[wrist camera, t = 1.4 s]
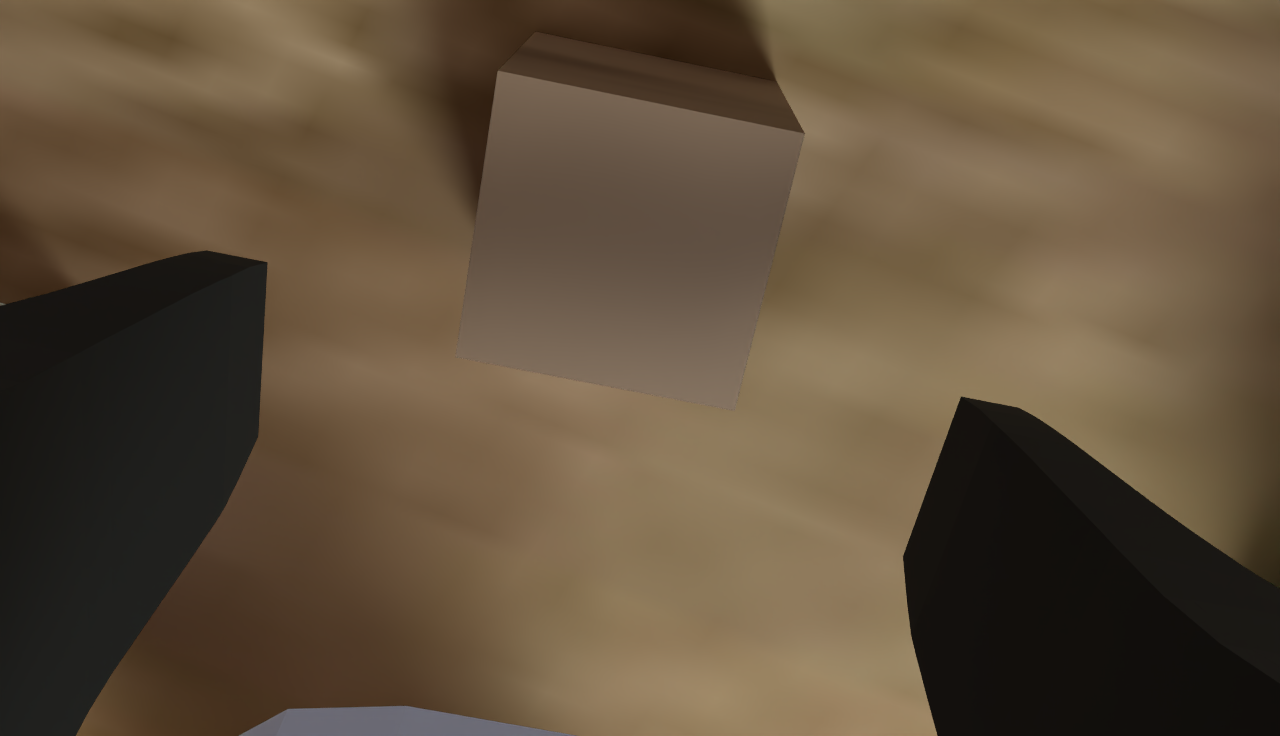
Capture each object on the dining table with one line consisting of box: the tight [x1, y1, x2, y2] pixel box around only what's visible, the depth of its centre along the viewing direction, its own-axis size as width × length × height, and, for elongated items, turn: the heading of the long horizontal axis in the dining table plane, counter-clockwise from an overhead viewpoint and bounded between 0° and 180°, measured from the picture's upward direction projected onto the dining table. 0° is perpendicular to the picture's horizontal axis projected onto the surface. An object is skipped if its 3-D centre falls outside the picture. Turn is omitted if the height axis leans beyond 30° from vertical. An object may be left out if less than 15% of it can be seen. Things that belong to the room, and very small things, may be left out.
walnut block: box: [455, 32, 805, 411], centre depth 20 cm, size 4×4×5 cm
